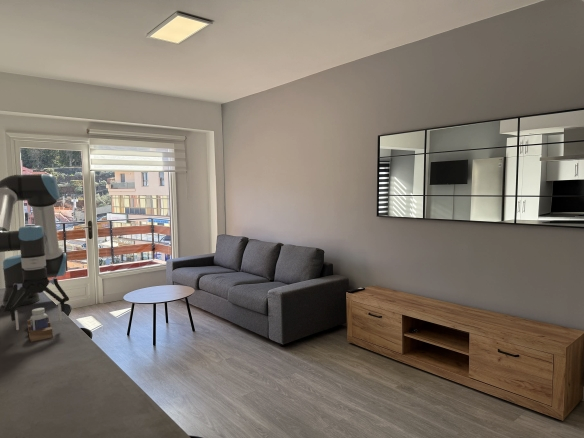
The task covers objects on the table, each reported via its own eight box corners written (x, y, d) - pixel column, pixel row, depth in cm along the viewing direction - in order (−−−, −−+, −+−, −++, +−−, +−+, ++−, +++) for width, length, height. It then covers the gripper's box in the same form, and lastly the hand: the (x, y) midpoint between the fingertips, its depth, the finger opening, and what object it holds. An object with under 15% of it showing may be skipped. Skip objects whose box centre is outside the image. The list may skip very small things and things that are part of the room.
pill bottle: (52, 332, 153) (50, 307, 152) (42, 337, 147) (39, 311, 147) (38, 332, 153) (36, 307, 152) (28, 337, 148) (25, 311, 147)
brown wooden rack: (28, 327, 160) (27, 319, 160) (48, 323, 164) (47, 315, 164) (30, 341, 143) (29, 333, 143) (52, 337, 147) (52, 329, 147)
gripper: (-9, 275, 138) (-2, 335, 140) (74, 264, 152) (78, 319, 154) (-8, 271, 144) (-2, 329, 146) (71, 261, 158) (76, 314, 160)
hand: (39, 324), depth 150 cm, fingers open, 13 cm apart
